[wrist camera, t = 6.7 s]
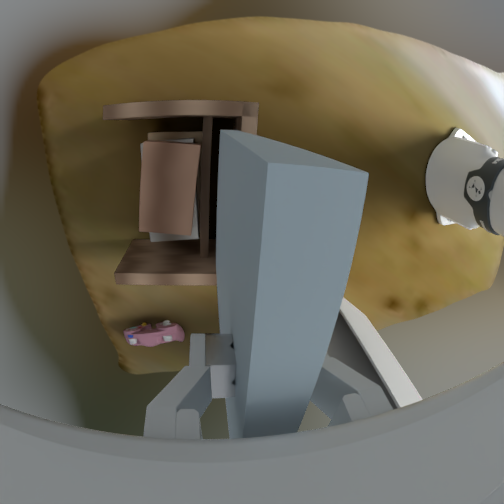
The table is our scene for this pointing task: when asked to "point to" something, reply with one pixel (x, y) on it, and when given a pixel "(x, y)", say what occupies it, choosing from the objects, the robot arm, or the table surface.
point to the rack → (204, 249)
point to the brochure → (370, 355)
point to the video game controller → (154, 334)
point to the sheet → (281, 272)
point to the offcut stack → (171, 185)
